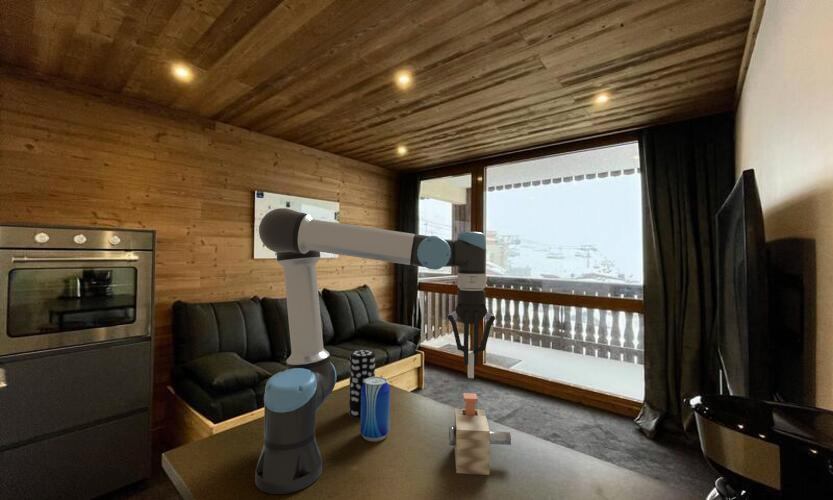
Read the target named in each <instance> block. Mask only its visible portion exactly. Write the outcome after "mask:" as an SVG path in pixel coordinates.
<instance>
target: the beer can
mask: <svg viewBox="0 0 833 500" xmlns="http://www.w3.org/2000/svg"><path fill="white" fill-rule="evenodd" d="M364 382H365V383H364V384H363V386H362V388H361V419H360V431H359V432H360V435H361V436H362V438H363V439H364V440H366V441H369V442H380V441H382V440H384V439H386V438H387V436H388V435H389V433H390V419H391V418H390V417H391V416H390V414H391V413H390V411H391V410H390V407H391V406H390V405H391V401H390V400H391V389H390V385H389V383H388V380H387V378H385V377H383V376H375V377H370V378H367V379H365V381H364Z"/></svg>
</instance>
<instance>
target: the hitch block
mask: <svg viewBox="0 0 833 500" xmlns="http://www.w3.org/2000/svg"><path fill="white" fill-rule="evenodd" d="M454 426H455V429H456V444H455V446H453V447H454V460H455V473H456V474H465V475H466V474H468V475H485V476H489V475H490V473H491V472H490V470H491V469H490V467H491V466H490V464H491V463H490V462H491V459H490V458H491V457H490V455H491V454H490V452H491V451H490V449H491V444H490V431H491V430H490V427H489V423H488V420H487V416H486V412H485V409H476V408H475V416H474V415H465V408H454Z"/></svg>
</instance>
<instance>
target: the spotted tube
mask: <svg viewBox="0 0 833 500" xmlns="http://www.w3.org/2000/svg"><path fill="white" fill-rule="evenodd" d="M370 377H376V351H375V350H371V349H356V350H352V351H350V352H349V395H348V396H349V402H348V403H349V405H348V415H349V416H350V418H353V419H357V420H359V419H360V420H361V388H362V386H363V384H364V383H365V382H364V381H365V379H367V378H370Z"/></svg>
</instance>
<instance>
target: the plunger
mask: <svg viewBox="0 0 833 500" xmlns="http://www.w3.org/2000/svg"><path fill="white" fill-rule="evenodd" d="M462 397H463V402H465V404H464V405H465V407H464V409H465V415H474V416H475V409H476V403H478V402H479V401H478V400H479V399H478V394H477V393H471V392H469V393H467V392H463V394H462Z"/></svg>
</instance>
